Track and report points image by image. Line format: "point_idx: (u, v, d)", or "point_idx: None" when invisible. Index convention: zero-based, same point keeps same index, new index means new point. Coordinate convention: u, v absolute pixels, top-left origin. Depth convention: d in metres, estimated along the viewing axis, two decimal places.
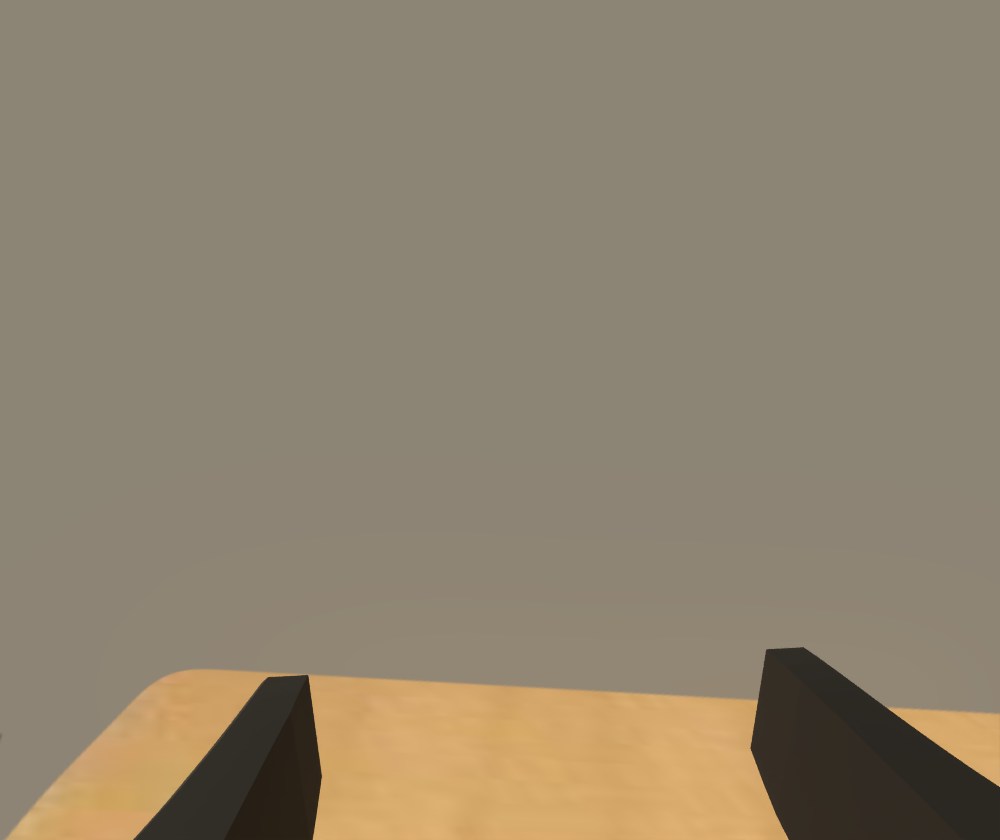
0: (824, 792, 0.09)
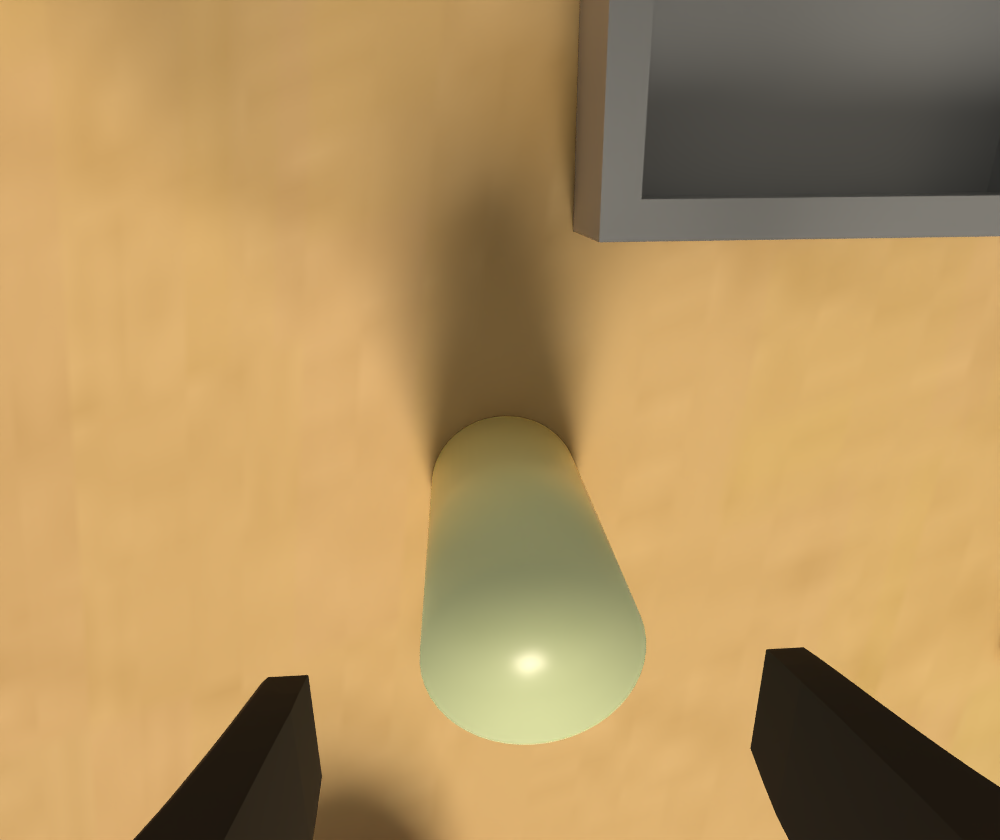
0: (824, 792, 0.09)
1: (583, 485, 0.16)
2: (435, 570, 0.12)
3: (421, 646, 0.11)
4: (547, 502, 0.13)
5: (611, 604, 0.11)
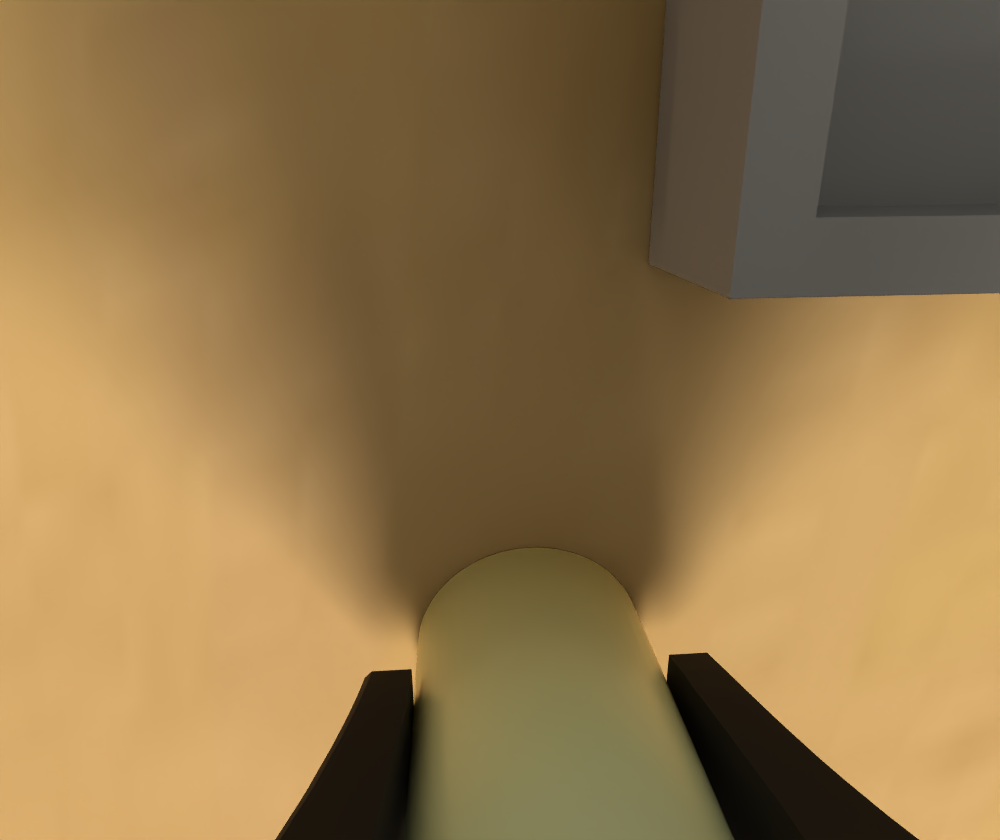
0: None
1: (667, 687, 0.09)
2: None
3: None
4: (634, 803, 0.07)
5: None
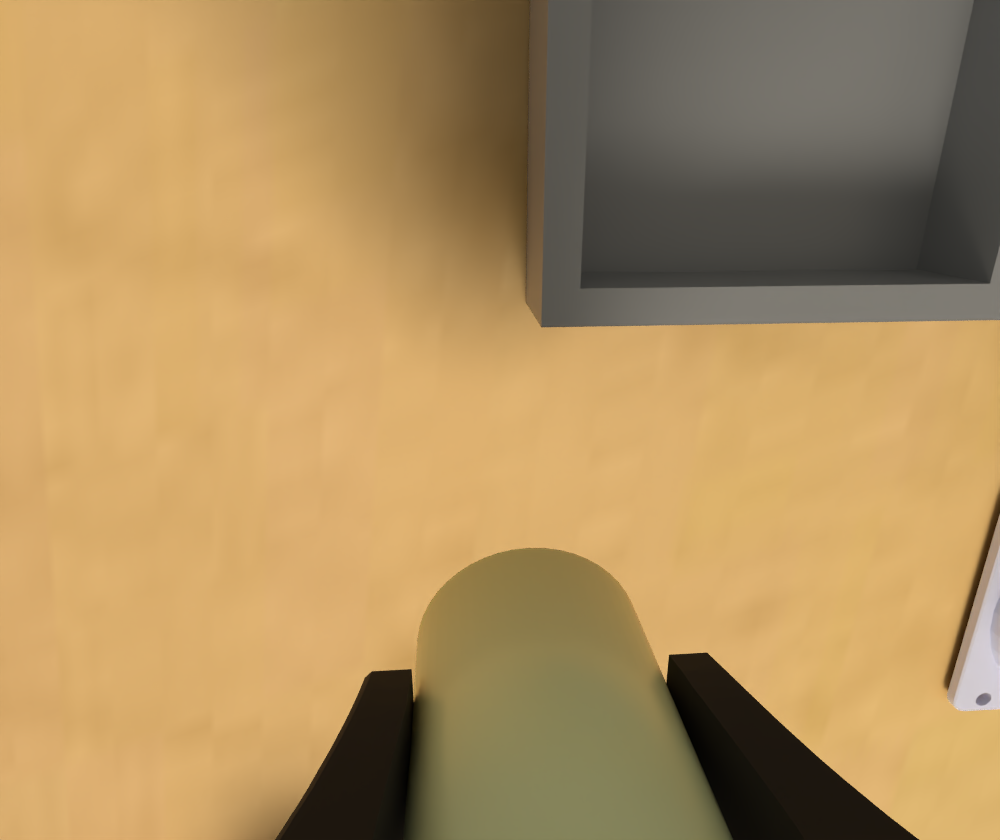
0: None
1: (666, 687, 0.09)
2: None
3: None
4: (632, 804, 0.07)
5: None
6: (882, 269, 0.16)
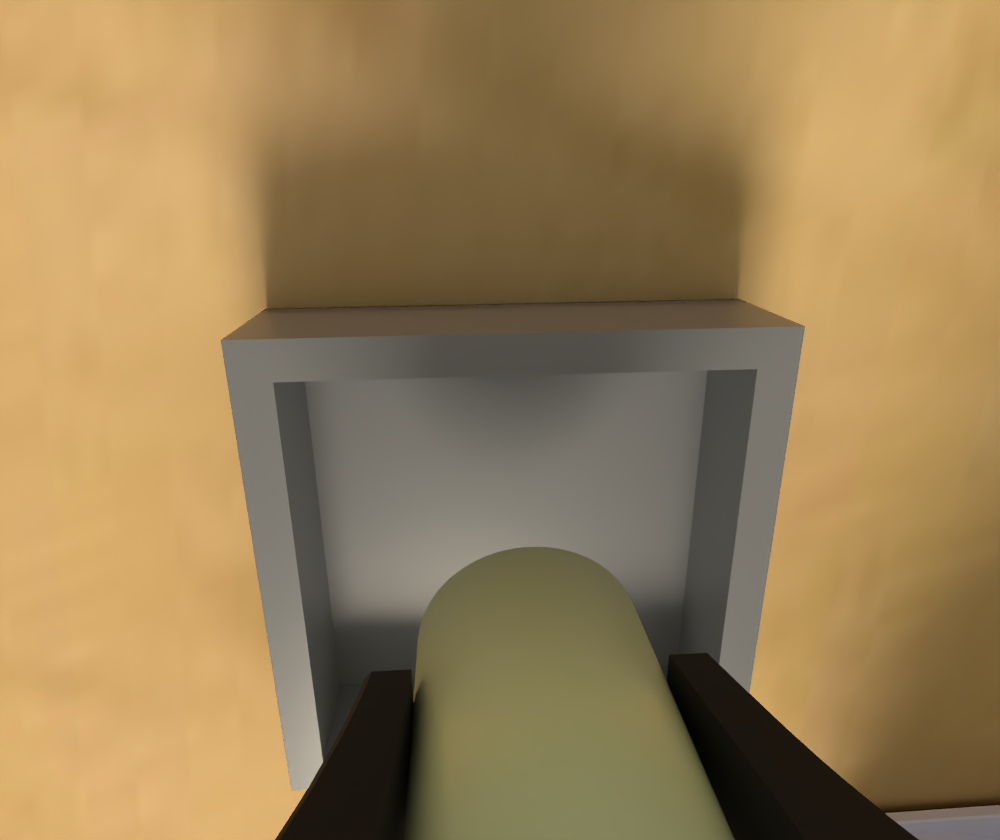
0: None
1: (667, 687, 0.09)
2: None
3: None
4: (634, 802, 0.07)
5: None
6: None
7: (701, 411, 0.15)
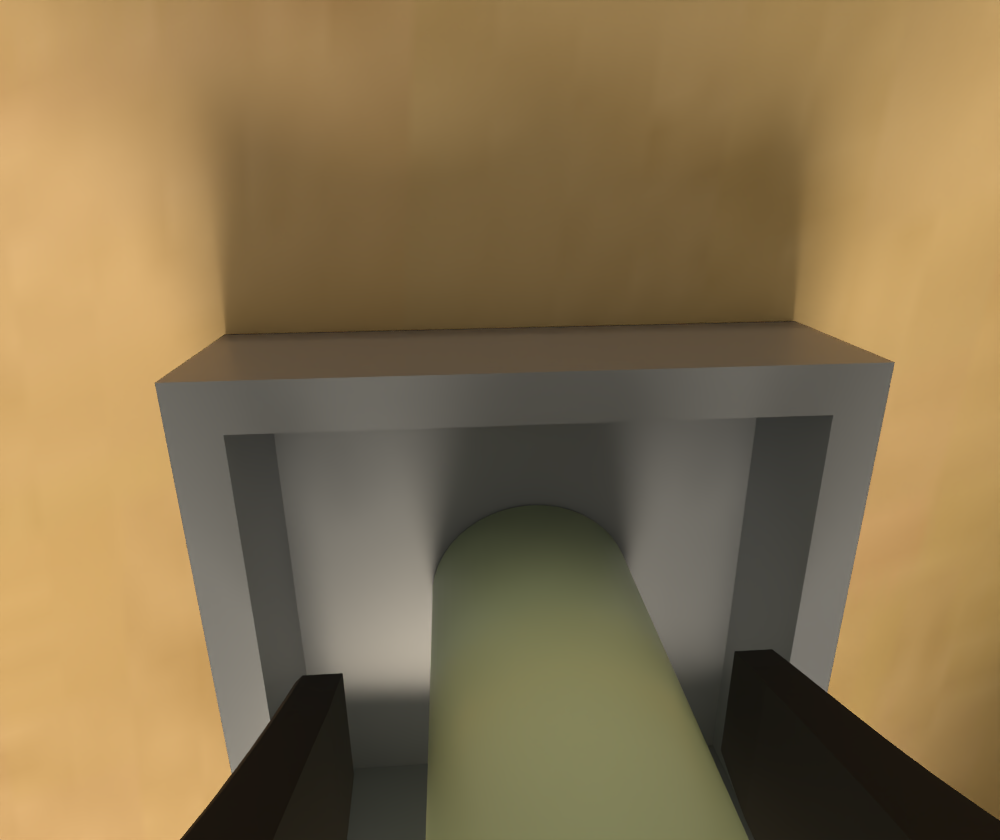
0: (787, 794, 0.09)
1: (651, 621, 0.11)
2: (444, 829, 0.08)
3: None
4: (618, 701, 0.08)
5: None
6: None
7: (748, 455, 0.13)
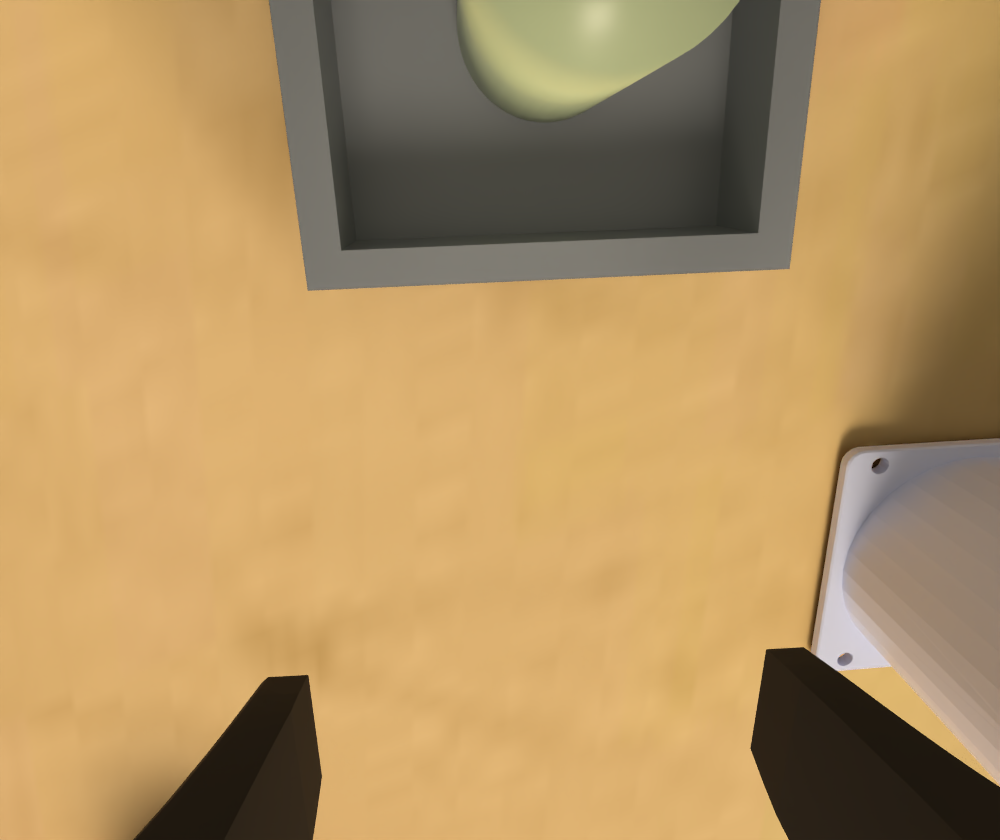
0: (824, 792, 0.09)
1: None
2: None
3: None
4: None
5: None
6: (680, 226, 0.17)
7: None
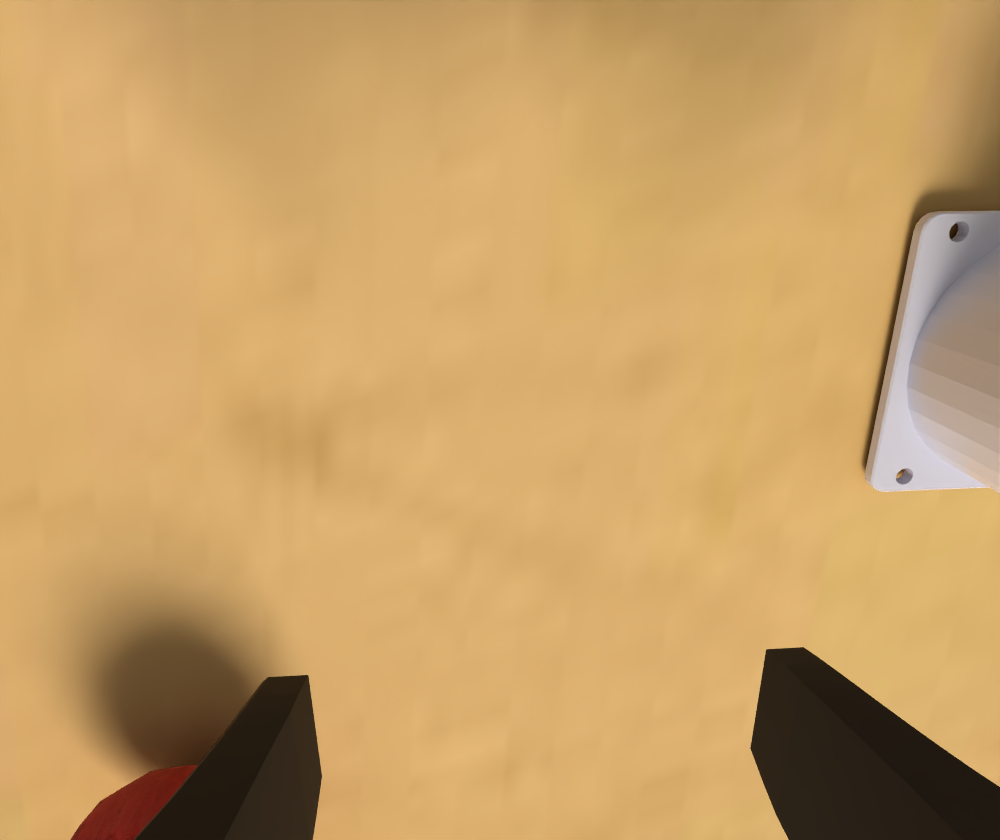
0: (824, 792, 0.09)
1: None
2: None
3: None
4: None
5: None
6: None
7: None
